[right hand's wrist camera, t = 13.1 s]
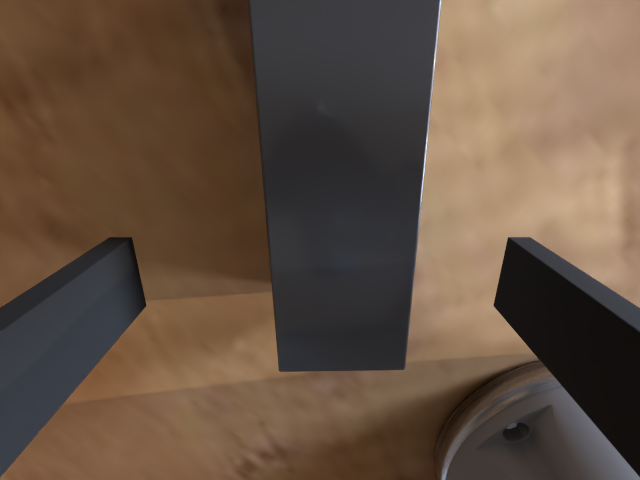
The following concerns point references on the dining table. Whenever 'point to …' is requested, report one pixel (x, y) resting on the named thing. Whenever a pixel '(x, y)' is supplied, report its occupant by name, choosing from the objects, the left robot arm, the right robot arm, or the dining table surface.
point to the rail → (343, 172)
